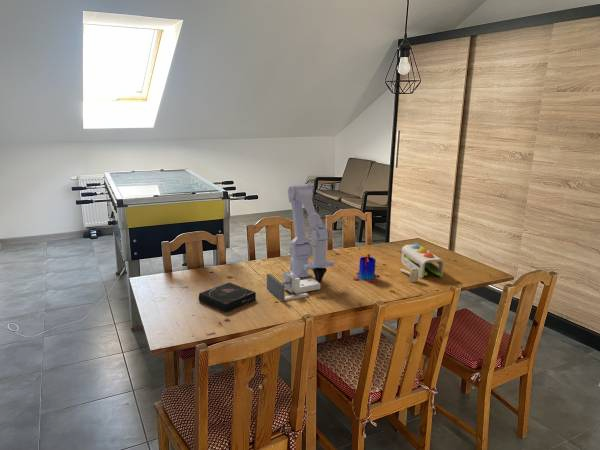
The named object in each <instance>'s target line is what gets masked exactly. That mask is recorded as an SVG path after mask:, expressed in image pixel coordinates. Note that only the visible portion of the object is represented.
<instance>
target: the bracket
mask: <svg viewBox="0 0 600 450" xmlns="http://www.w3.org/2000/svg"><path fill="white" fill-rule="evenodd" d="M289 274H290V275H292V276H293V273H289ZM293 277H295V276H293ZM320 289H321V283H319V282H317V281H316V279H314V278H306V279H301V278H296V277H295V293H296V294H301V293H306V292H307V293H308V292H310V291H317V290H320Z"/></svg>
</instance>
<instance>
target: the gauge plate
mask: <svg viewBox="0 0 600 450" xmlns="http://www.w3.org/2000/svg"><path fill="white" fill-rule="evenodd" d="M290 274H291V273H289V272H288V271H282V284H284V285H285V290H287V291H288V292H289V293H290V294H293V295H294V294H295V295H296V294H297V293H295V279H296V277H295V276H294V277H293V276H292V275H290Z"/></svg>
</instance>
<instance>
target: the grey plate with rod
mask: <svg viewBox="0 0 600 450" xmlns="http://www.w3.org/2000/svg"><path fill="white" fill-rule="evenodd" d="M266 289H267V291H269V293H271V294H272V295H273V296H274V297H276V298H277V300H279V301H280V302H286V301H291V300H292V301H293V300H296V299H300V298H307V297H309V293H308V291H307V292H302V293H296V295H295V294H294V293H293V294H290V295H286V296H285V293H286V291H285V290H286V288H285V285H284V284H283V282H281V281H280V280H279V279H277V278H276V277H275V276H273V274H271V273H266Z"/></svg>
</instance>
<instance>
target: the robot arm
mask: <svg viewBox="0 0 600 450" xmlns="http://www.w3.org/2000/svg"><path fill="white" fill-rule="evenodd" d="M287 195H288V202H289V203H290V204H291V212H292V222H293V231H294V238H293V239H292V240H291V241H290V242H289V255H290V256H291V257H290V259H289V260H290V261H289V265H290V266H289V267H290V268H289V270H288V271H287V272H288V273H289V274H291V273H293V276H294V277H295V279H296V278H300V279H301V278H307V277H312V274H311V273H310V272H309V270H312V273H313V275H314V278H315V280H316V281H317V282H319V283H320V284H322V281H323V279H324V276H325V274H326V272H327V268H328V267H335V261H333V260H327V241H328V240H329V238H330V231H329V228H328V227H327V226H326V225H325V224H324V223H323V221H322V218H321V216H320V214H319V213H317V212H316V209H315V208H316V207H315V206H314V202H313V199H312V196H313V189H312V186H311V184H310V183H302V184H290V185H289V187H288V189H287ZM303 207H304V209H305V211H306V213H307V218H306V219H307V222H308V224H309V228H310V230H311V234H310V236H311V239H309V238H308V237H307V236H306V230H305V220H304V219H305V217H304V212H303V211H304V209H303ZM311 240H312V243H311ZM312 245H313V246H312ZM312 253H313V256H312ZM311 256H312V262H311V263H309V258H310V257H311ZM326 267H327V268H326Z"/></svg>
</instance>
